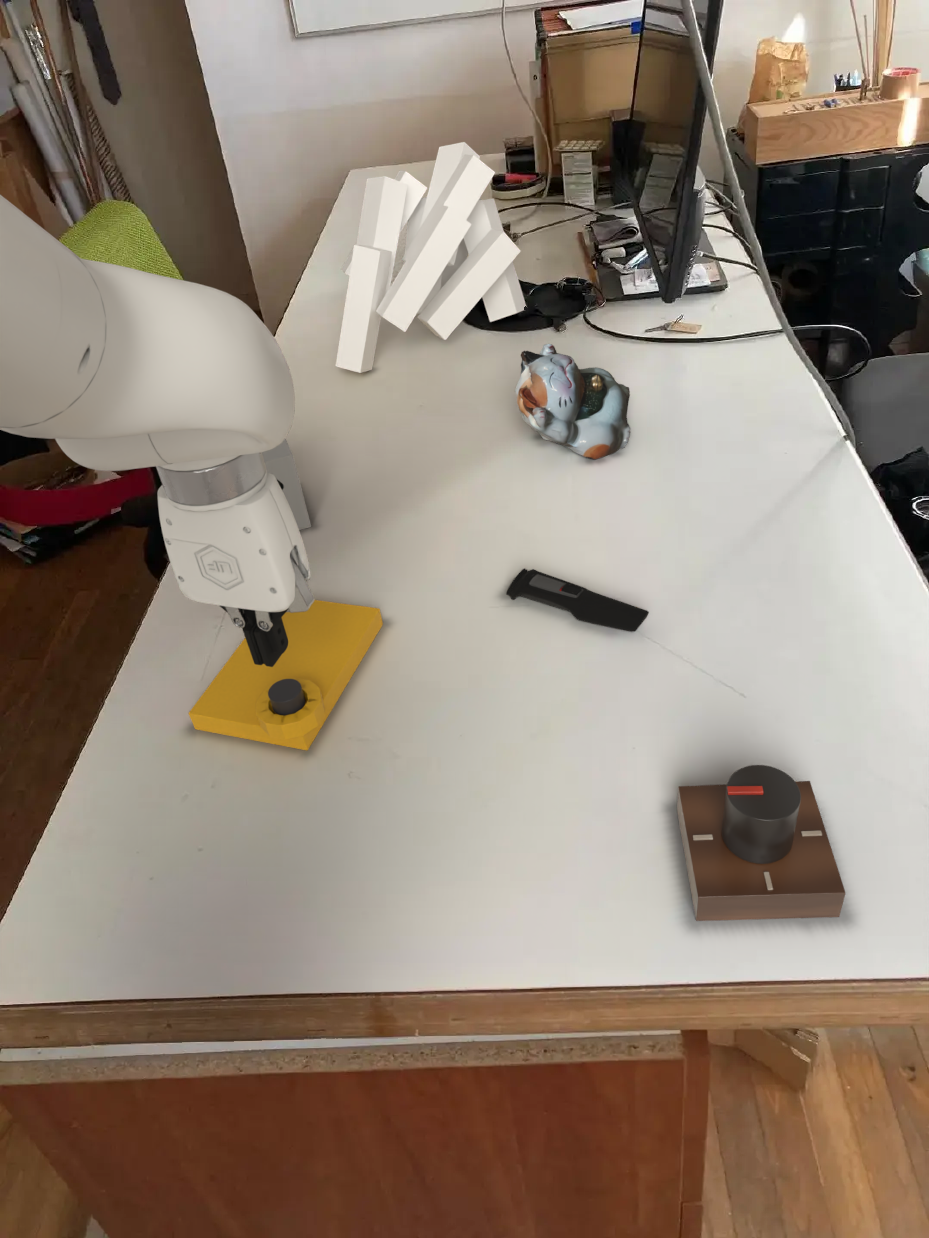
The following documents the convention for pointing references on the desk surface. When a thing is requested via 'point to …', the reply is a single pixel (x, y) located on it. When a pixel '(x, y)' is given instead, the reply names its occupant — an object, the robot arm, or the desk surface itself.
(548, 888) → the desk surface
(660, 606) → the desk surface
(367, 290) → the pile of blocks
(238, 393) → the robot arm
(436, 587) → the desk surface
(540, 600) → the electric trimmer
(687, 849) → the dial panel
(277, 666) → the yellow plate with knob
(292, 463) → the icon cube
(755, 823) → the dial knob
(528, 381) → the lucky cat figurine
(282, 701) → the black cylindrical knob
